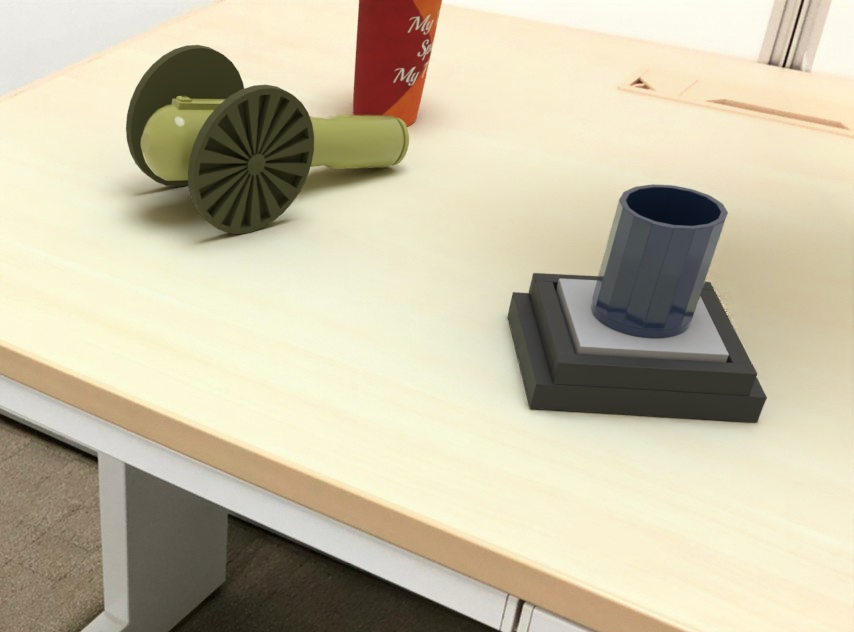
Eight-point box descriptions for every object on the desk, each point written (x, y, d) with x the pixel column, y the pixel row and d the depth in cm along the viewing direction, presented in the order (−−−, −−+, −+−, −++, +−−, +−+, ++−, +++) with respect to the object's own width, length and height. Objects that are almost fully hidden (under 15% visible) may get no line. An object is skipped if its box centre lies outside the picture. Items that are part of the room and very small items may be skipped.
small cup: (678, 293, 83) (713, 186, 78) (701, 341, 78) (739, 230, 73) (583, 288, 84) (611, 182, 79) (599, 335, 79) (630, 225, 74)
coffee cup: (420, 138, 113) (448, -38, 103) (331, 126, 115) (350, -47, 106) (435, 106, 119) (463, -64, 109) (350, 95, 121) (370, -72, 112)
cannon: (354, 140, 113) (369, 9, 106) (437, 188, 105) (460, 50, 98) (109, 195, 104) (108, 57, 97) (180, 253, 96) (184, 107, 89)
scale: (710, 326, 87) (726, 281, 85) (757, 422, 78) (776, 375, 76) (507, 315, 89) (517, 271, 86) (529, 409, 80) (541, 361, 77)
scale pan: (688, 308, 85) (695, 284, 84) (720, 378, 78) (729, 354, 77) (553, 300, 86) (558, 277, 85) (574, 370, 79) (580, 345, 78)
